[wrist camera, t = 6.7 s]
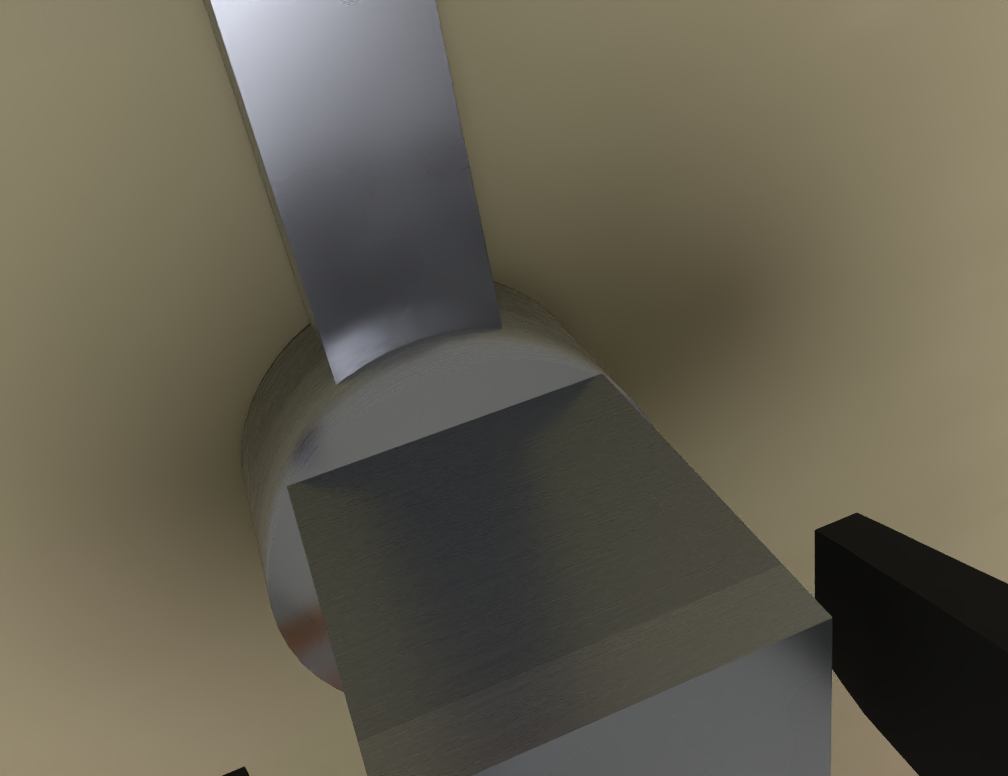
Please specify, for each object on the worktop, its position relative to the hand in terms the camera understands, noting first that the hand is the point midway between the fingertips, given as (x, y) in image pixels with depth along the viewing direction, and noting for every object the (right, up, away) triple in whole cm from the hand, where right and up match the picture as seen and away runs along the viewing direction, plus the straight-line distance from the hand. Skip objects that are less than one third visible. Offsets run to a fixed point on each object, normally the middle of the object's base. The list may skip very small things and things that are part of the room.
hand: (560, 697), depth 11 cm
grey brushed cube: (-1, +1, +2) cm, 3 cm away
